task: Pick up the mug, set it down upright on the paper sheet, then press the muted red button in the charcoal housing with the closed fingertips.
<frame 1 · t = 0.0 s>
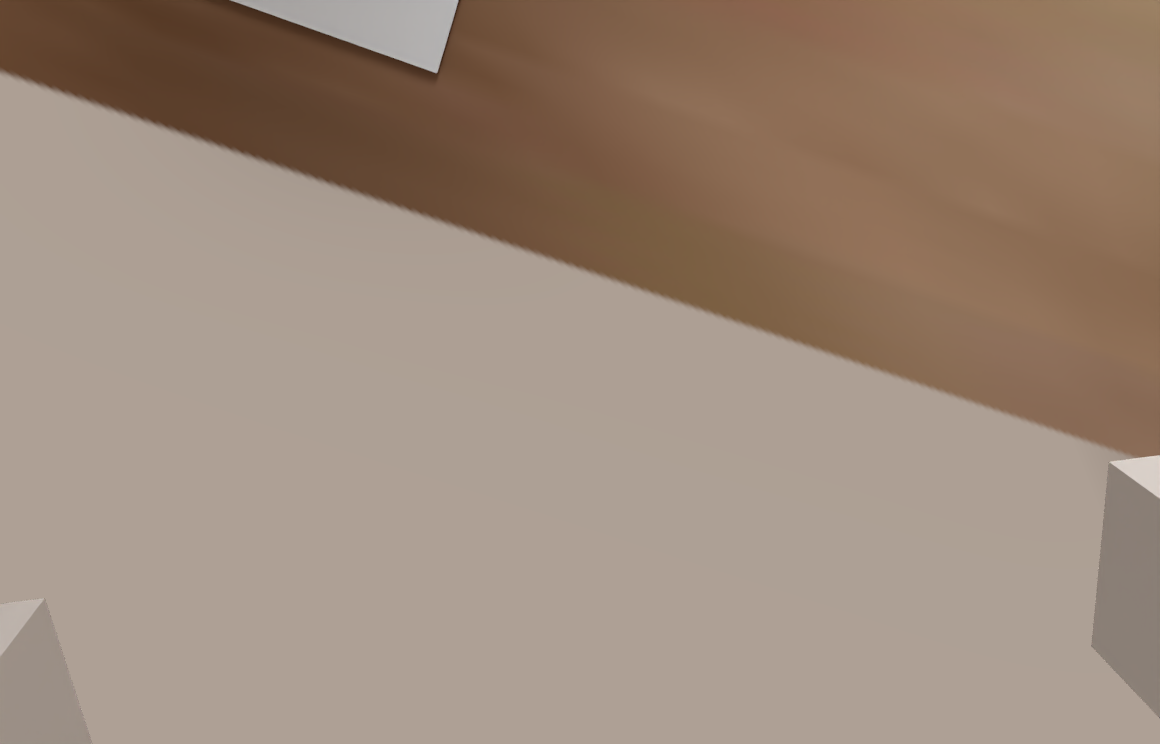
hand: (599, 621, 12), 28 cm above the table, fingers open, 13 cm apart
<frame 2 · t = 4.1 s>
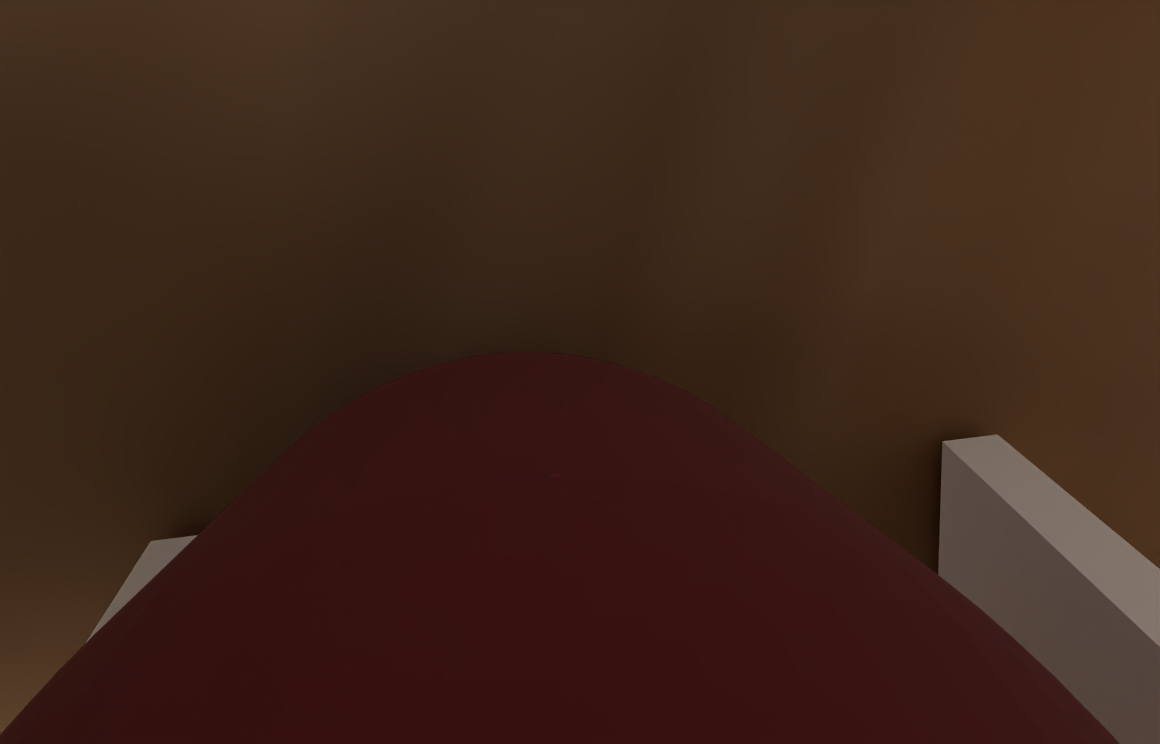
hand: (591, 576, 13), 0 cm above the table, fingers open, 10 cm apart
mug: (587, 557, 14), on the table, touching gripper
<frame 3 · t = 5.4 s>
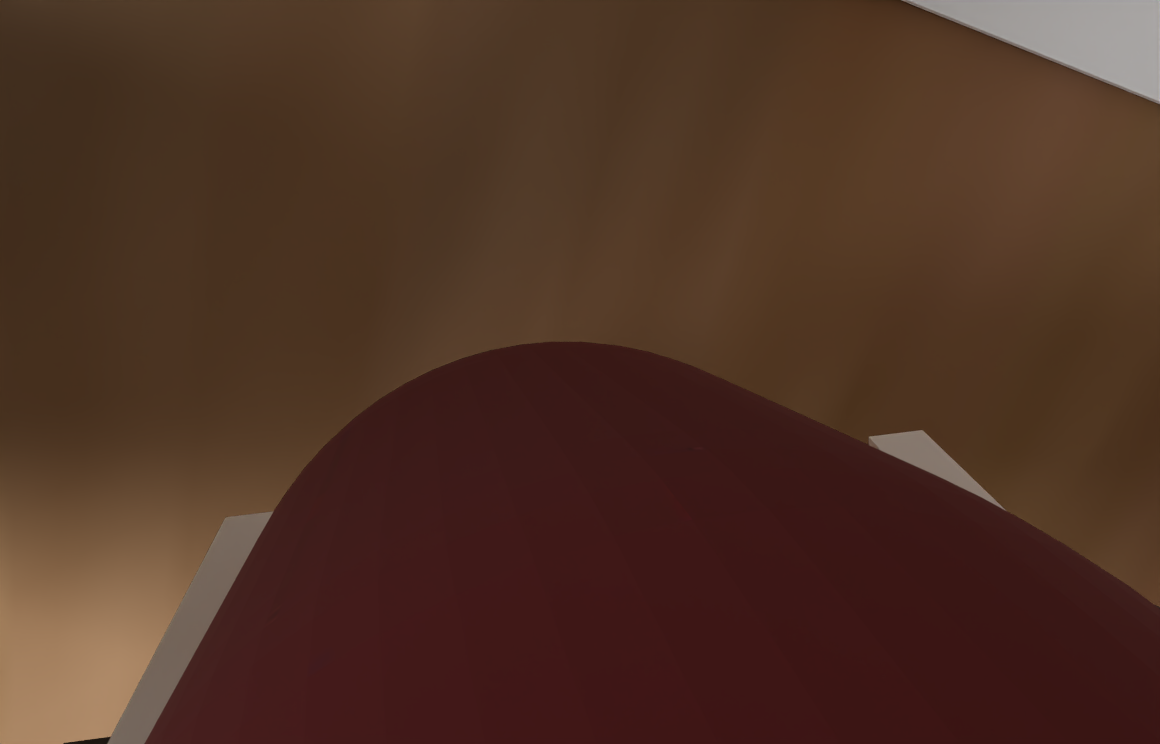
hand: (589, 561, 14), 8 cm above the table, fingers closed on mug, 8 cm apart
mug: (577, 543, 14), point 8 cm above the table, touching gripper
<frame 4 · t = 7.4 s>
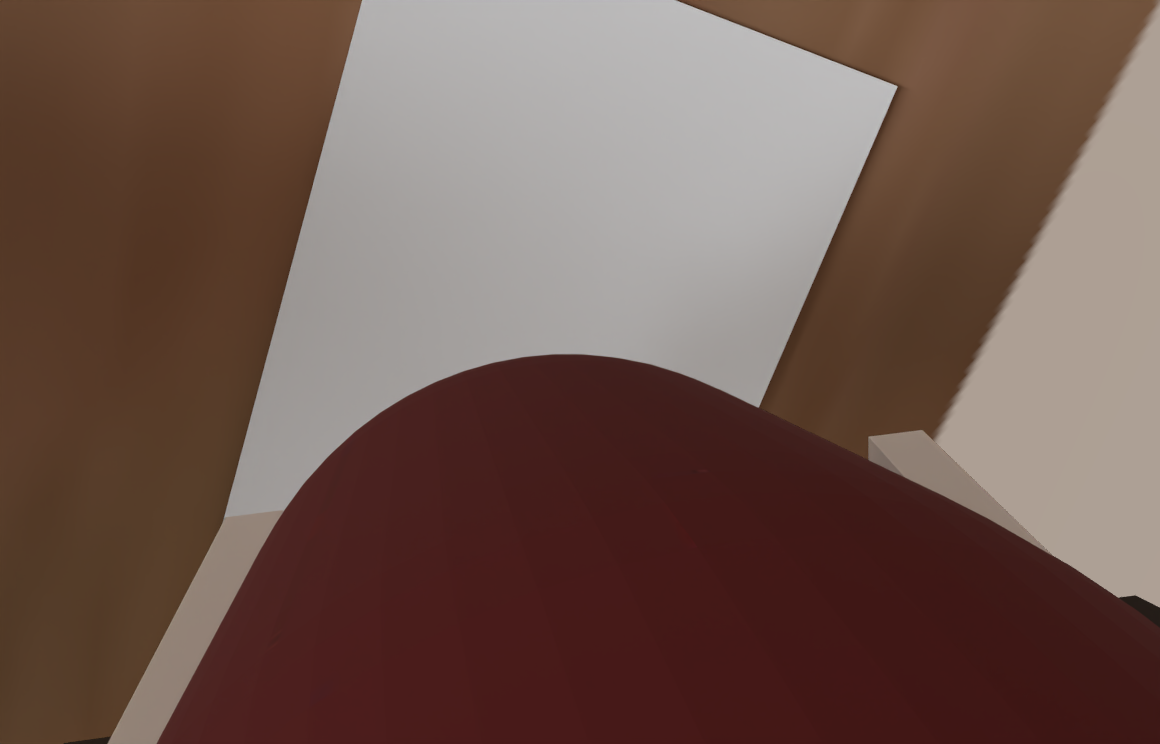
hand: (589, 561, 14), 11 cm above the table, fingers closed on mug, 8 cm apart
mug: (579, 552, 14), point 11 cm above the table, touching gripper
paper: (540, 321, 25), on the table
when the fingers open (1 cm above the table, at t = 10.0 s): mug stays where it is, resting on paper.
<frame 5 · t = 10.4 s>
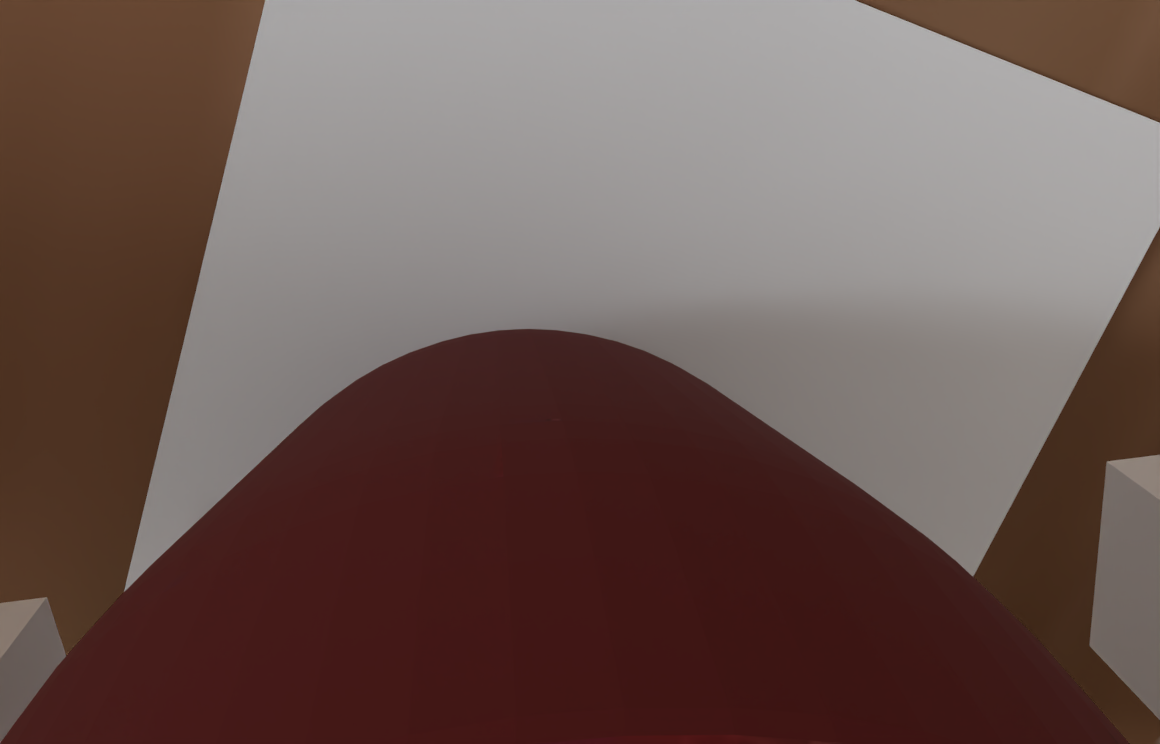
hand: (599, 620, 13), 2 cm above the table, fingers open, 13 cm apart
mug: (583, 528, 15), resting on paper
paper: (582, 525, 15), on the table
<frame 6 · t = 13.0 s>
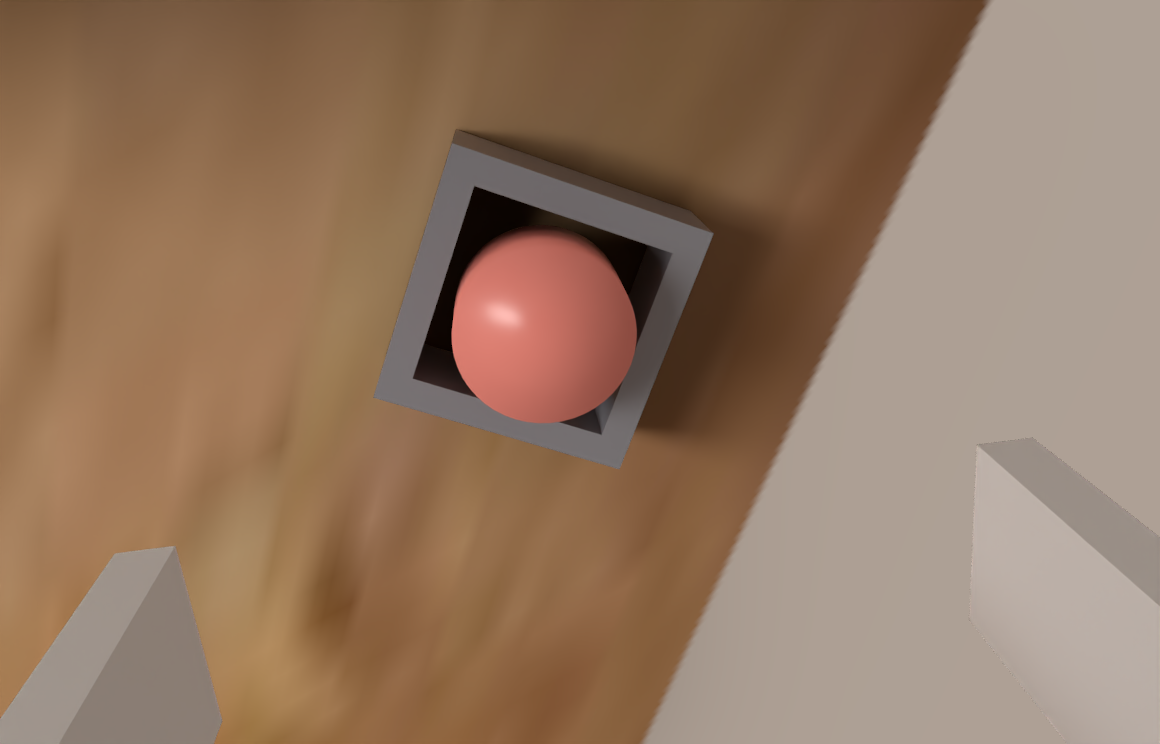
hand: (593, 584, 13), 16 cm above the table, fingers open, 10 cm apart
button: (542, 322, 25), point 3 cm above the table, slide at 0.0 cm
button housing: (535, 286, 28), on the table
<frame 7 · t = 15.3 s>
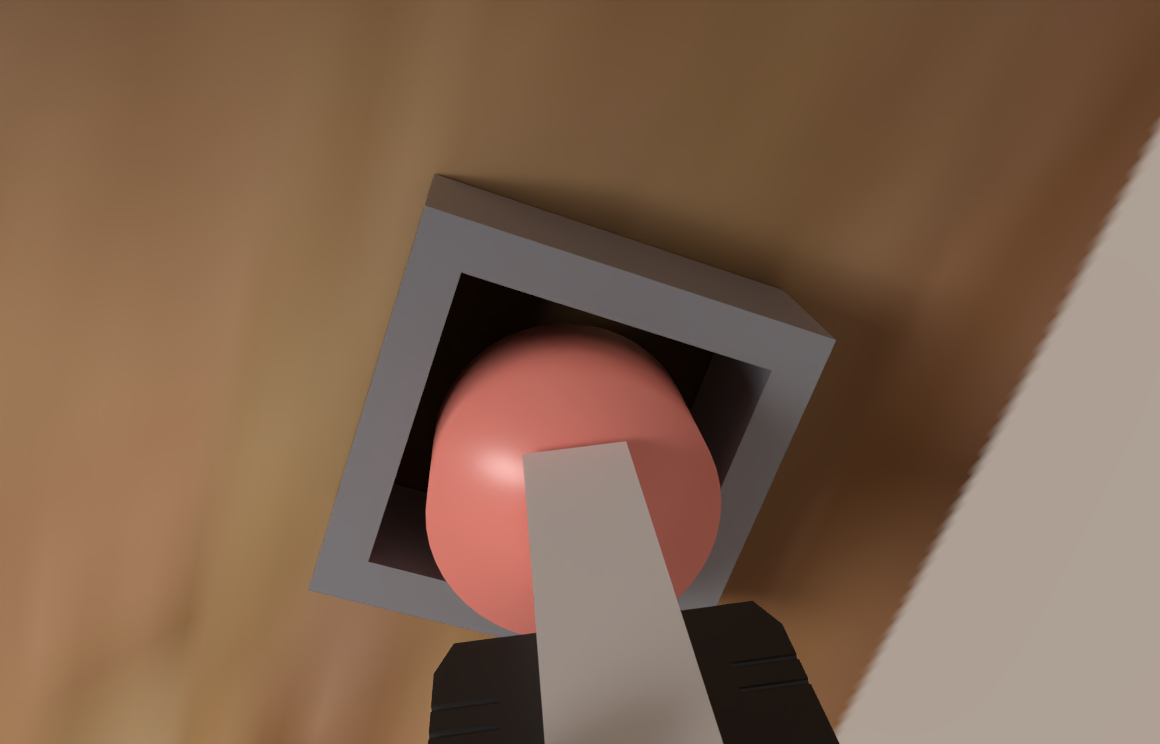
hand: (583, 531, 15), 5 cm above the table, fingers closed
button: (568, 478, 16), point 3 cm above the table, slide at 0.1 cm, touching gripper
button housing: (554, 400, 19), on the table
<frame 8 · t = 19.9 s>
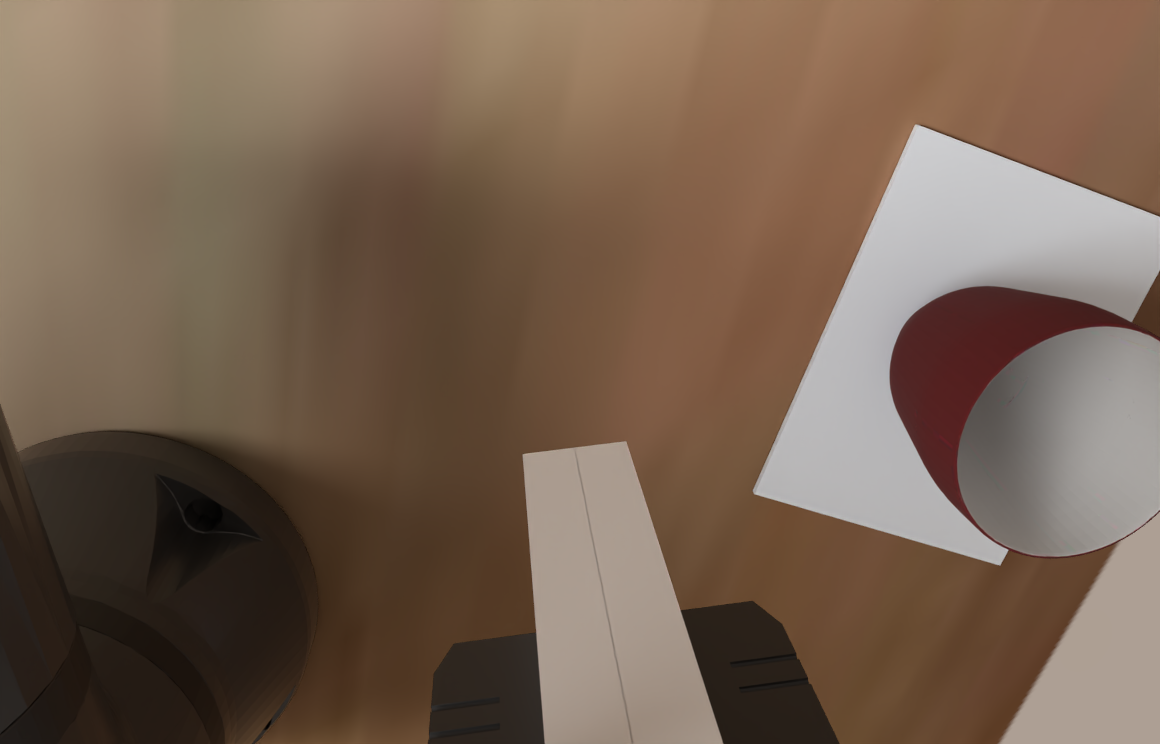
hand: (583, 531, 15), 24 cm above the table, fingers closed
mug: (960, 362, 41), resting on paper
paper: (959, 361, 41), on the table
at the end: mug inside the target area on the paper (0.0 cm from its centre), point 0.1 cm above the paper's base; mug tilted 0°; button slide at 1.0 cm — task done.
